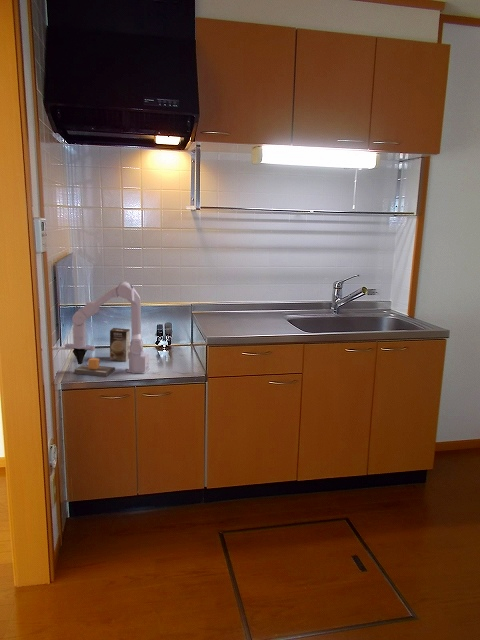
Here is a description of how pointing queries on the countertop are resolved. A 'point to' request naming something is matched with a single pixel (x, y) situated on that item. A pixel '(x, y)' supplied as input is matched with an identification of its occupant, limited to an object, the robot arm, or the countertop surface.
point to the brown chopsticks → (106, 366)
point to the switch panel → (94, 371)
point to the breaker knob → (93, 363)
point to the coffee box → (119, 344)
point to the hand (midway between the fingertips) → (80, 363)
